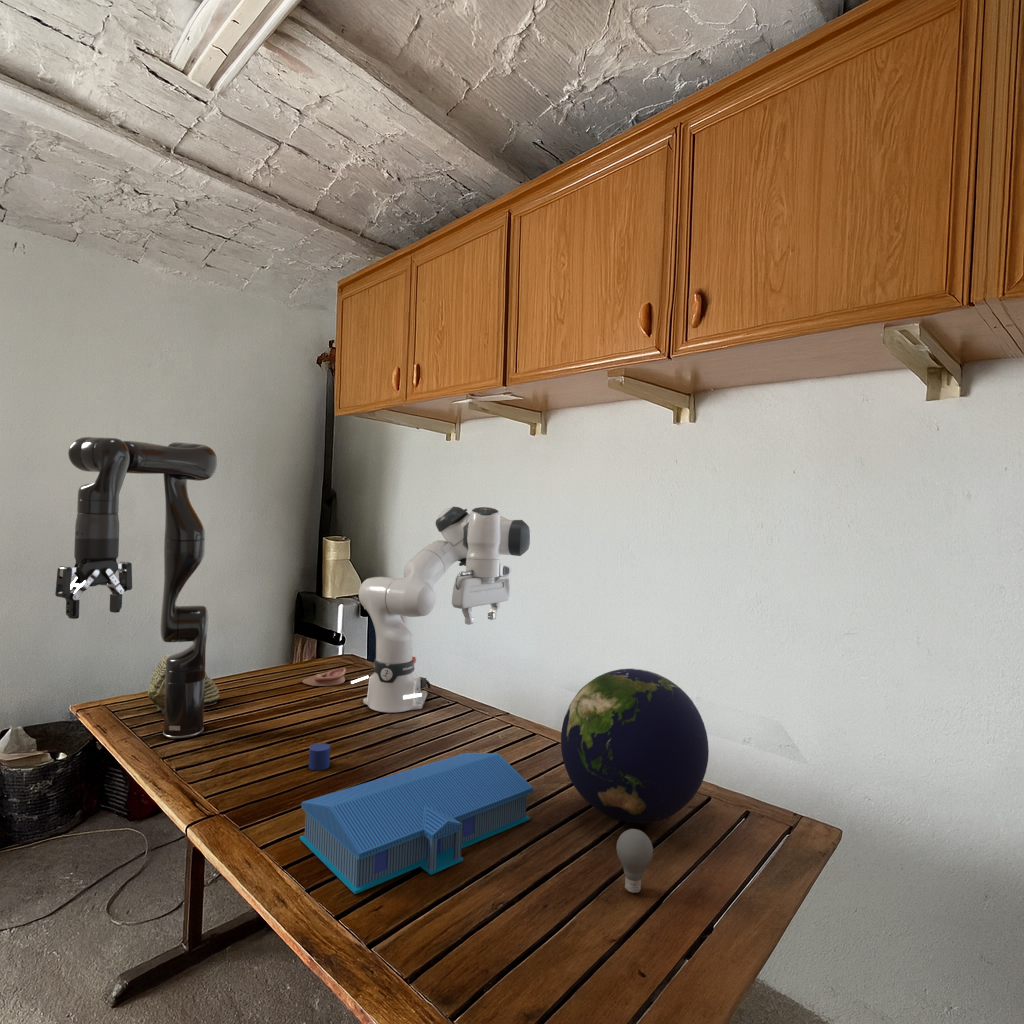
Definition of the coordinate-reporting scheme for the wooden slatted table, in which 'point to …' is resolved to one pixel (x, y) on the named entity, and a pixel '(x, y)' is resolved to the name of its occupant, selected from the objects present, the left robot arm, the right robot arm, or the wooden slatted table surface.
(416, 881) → the wooden slatted table surface
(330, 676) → the anatomical model
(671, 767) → the globe
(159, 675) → the fossil
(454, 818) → the model building
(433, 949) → the wooden slatted table surface
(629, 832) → the light bulb
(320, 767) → the canister
